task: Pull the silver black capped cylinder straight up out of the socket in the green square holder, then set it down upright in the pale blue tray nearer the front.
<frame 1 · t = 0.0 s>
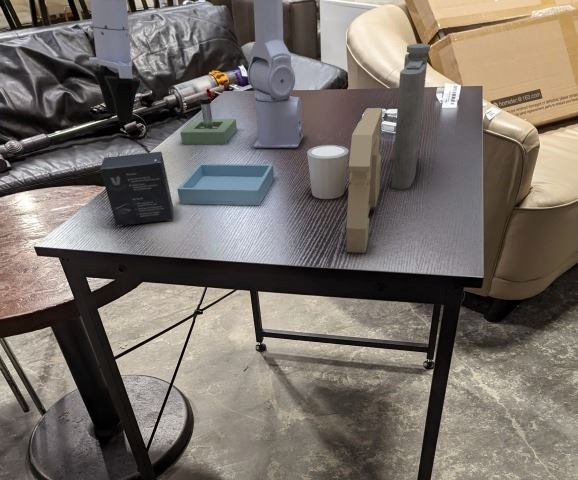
hand: (119, 117, 96), 11 cm above the table, tool pointing down, fingers open, 7 cm apart
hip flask: (405, 173, 96), on the table
silver black capped cylinder: (207, 118, 117), in the green square holder
green square holder: (210, 137, 119), on the table
tray: (228, 190, 94), on the table
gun: (363, 219, 83), on the table
white cup: (328, 193, 91), on the table
box: (146, 218, 88), on the table
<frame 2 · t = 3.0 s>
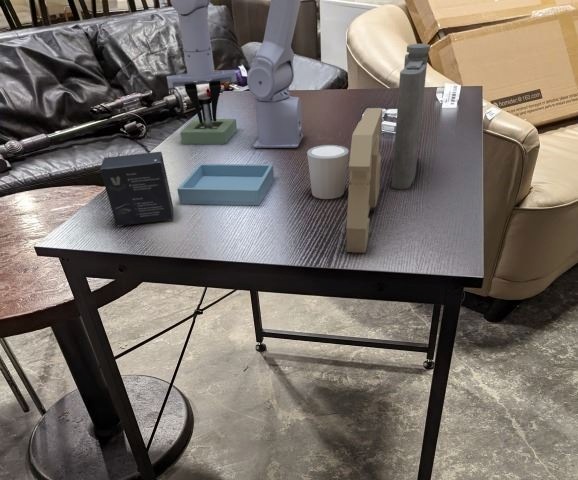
hand: (208, 120, 117), 3 cm above the table, tool pointing down, fingers closed on silver black capped cylinder, 2 cm apart
silver black capped cylinder: (207, 118, 117), in the green square holder, touching gripper
everything else where it was.
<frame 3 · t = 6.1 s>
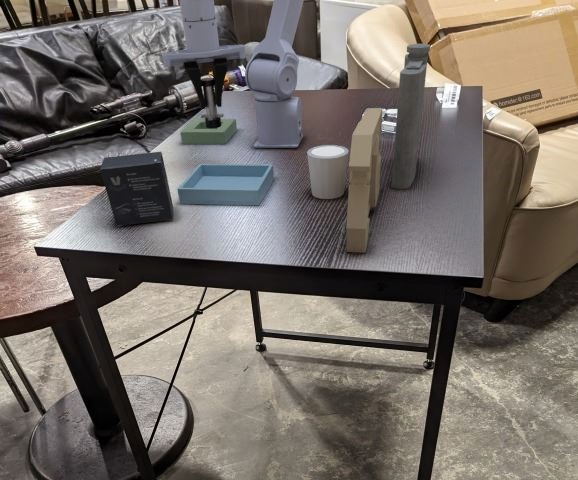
hand: (211, 106, 99), 10 cm above the table, tool pointing down, fingers closed on silver black capped cylinder, 2 cm apart
silver black capped cylinder: (210, 103, 98), point 11 cm above the table, touching gripper
everything else where it was.
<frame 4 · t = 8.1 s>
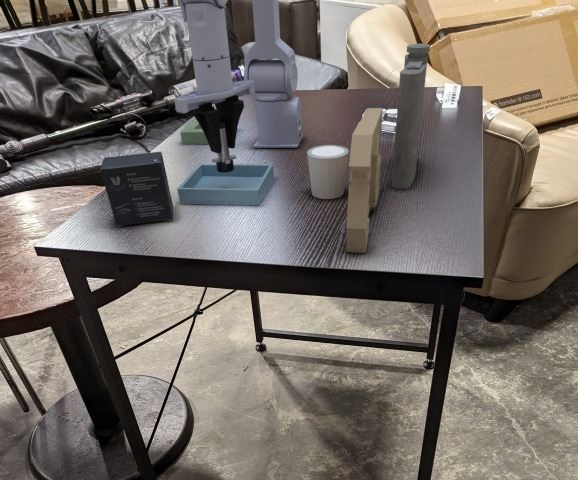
hand: (223, 149, 90), 7 cm above the table, tool pointing down, fingers closed on silver black capped cylinder, 2 cm apart
silver black capped cylinder: (222, 145, 89), point 8 cm above the table, touching gripper
everything else where it was.
when the fingers open (4 cm above the table, at t = 9.3 s): silver black capped cylinder stays where it is, resting on tray.
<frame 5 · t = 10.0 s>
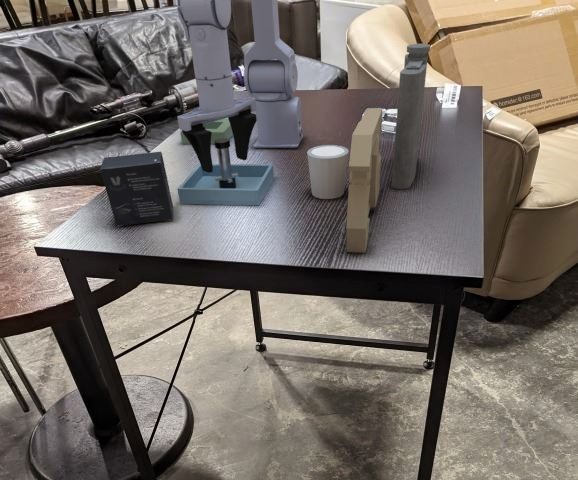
hand: (225, 164, 91), 5 cm above the table, tool pointing down, fingers open, 7 cm apart
silver black capped cylinder: (224, 164, 91), in the tray, point 5 cm above the table
everything else where it was.
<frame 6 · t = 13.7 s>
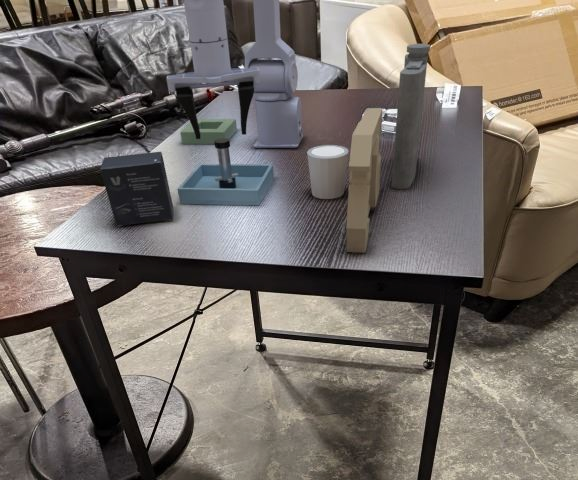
hand: (221, 135, 88), 9 cm above the table, tool pointing down, fingers open, 7 cm apart
nothing on the table moved.
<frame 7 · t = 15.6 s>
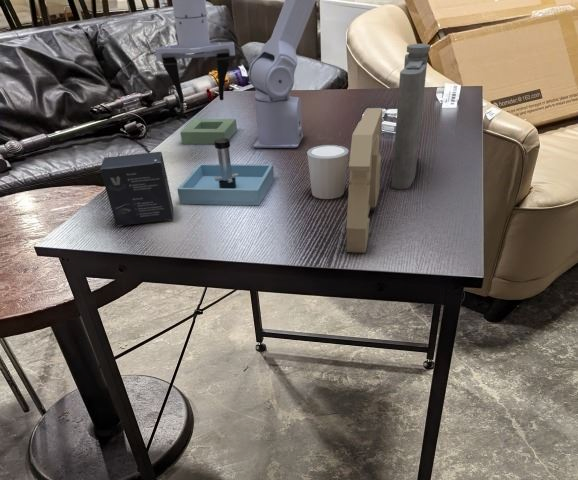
hand: (201, 100, 103), 10 cm above the table, tool pointing down, fingers open, 7 cm apart
nothing on the table moved.
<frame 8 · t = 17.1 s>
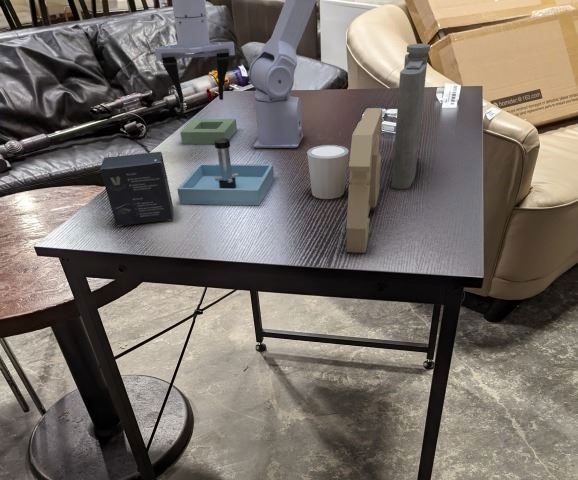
hand: (201, 100, 103), 10 cm above the table, tool pointing down, fingers open, 7 cm apart
nothing on the table moved.
at the end: silver black capped cylinder inside the target area in the tray (0.0 cm from its centre), point 4.6 cm above the tray's base; silver black capped cylinder tilted 0°; silver black capped cylinder moved 33.6 cm from its start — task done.
